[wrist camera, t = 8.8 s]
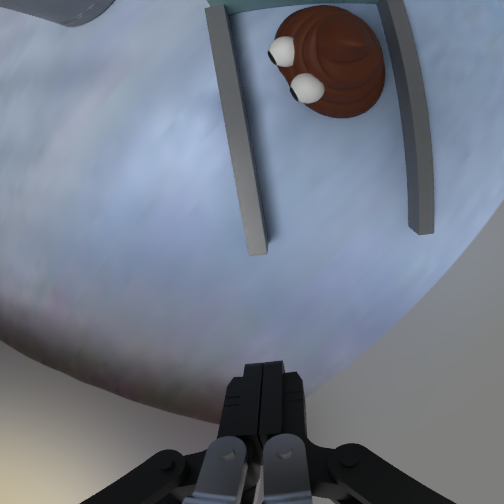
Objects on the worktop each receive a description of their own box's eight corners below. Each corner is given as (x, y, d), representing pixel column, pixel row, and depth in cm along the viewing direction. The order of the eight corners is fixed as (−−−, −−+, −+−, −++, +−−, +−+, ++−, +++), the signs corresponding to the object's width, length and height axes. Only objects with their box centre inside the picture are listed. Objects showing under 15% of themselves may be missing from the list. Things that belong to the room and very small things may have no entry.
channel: (208, 5, 20) (194, -18, 15) (387, -9, 17) (405, -30, 13) (251, 245, 28) (245, 269, 23) (422, 224, 25) (446, 243, 21)
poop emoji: (396, 98, 22) (449, 86, 13) (310, 137, 24) (327, 138, 15) (338, 2, 19) (362, -50, 10) (251, 37, 21) (235, -8, 12)
